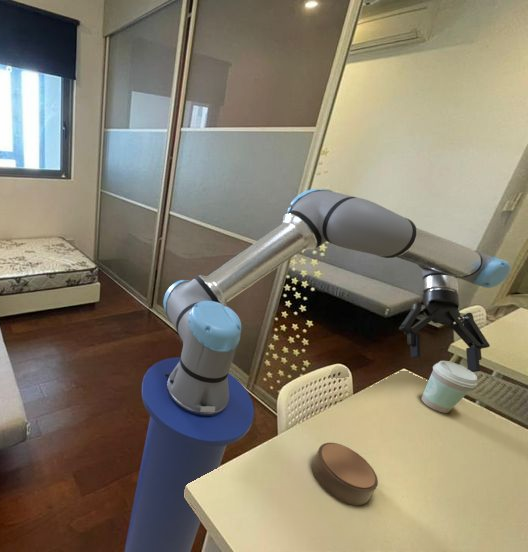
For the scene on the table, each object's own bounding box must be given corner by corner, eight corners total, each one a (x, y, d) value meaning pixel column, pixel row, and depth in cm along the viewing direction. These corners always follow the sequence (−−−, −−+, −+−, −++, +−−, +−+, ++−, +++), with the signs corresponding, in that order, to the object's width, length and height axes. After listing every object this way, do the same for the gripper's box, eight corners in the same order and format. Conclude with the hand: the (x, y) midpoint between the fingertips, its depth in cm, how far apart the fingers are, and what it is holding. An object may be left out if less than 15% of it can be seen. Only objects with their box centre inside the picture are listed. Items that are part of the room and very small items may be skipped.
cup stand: (304, 474, 63) (311, 459, 62) (321, 447, 70) (328, 433, 68) (361, 517, 57) (371, 502, 55) (374, 482, 64) (383, 468, 62)
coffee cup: (421, 389, 92) (442, 356, 88) (460, 410, 86) (485, 375, 81) (409, 398, 88) (431, 364, 83) (449, 421, 82) (475, 385, 77)
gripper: (479, 307, 95) (486, 378, 88) (384, 288, 101) (384, 354, 93) (503, 299, 88) (513, 376, 81) (400, 279, 94) (400, 349, 87)
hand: (444, 364), depth 87 cm, fingers open, 13 cm apart
